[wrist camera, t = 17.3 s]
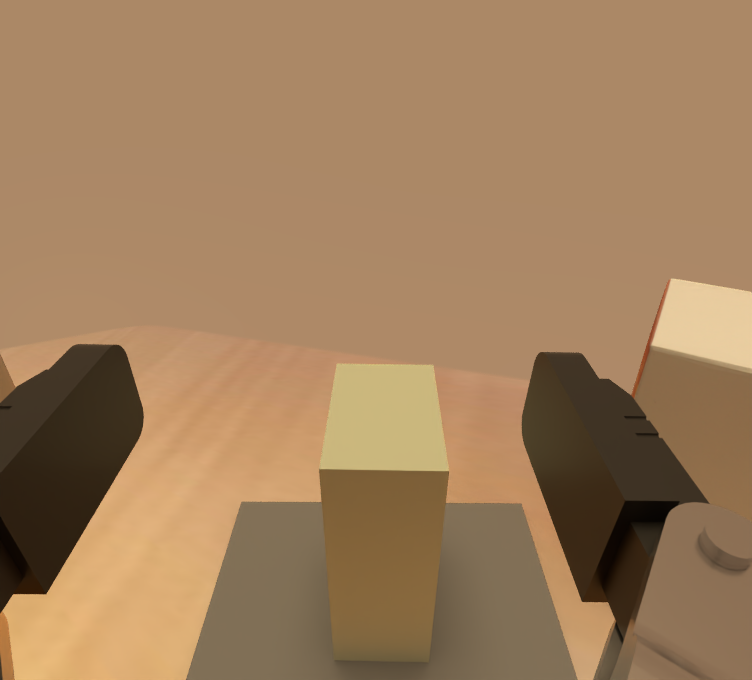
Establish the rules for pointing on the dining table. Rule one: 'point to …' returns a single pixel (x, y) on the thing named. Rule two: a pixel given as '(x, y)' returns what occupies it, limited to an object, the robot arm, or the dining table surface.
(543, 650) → the rubber mat
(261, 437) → the dining table surface
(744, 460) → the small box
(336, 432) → the tall tan pillar block
